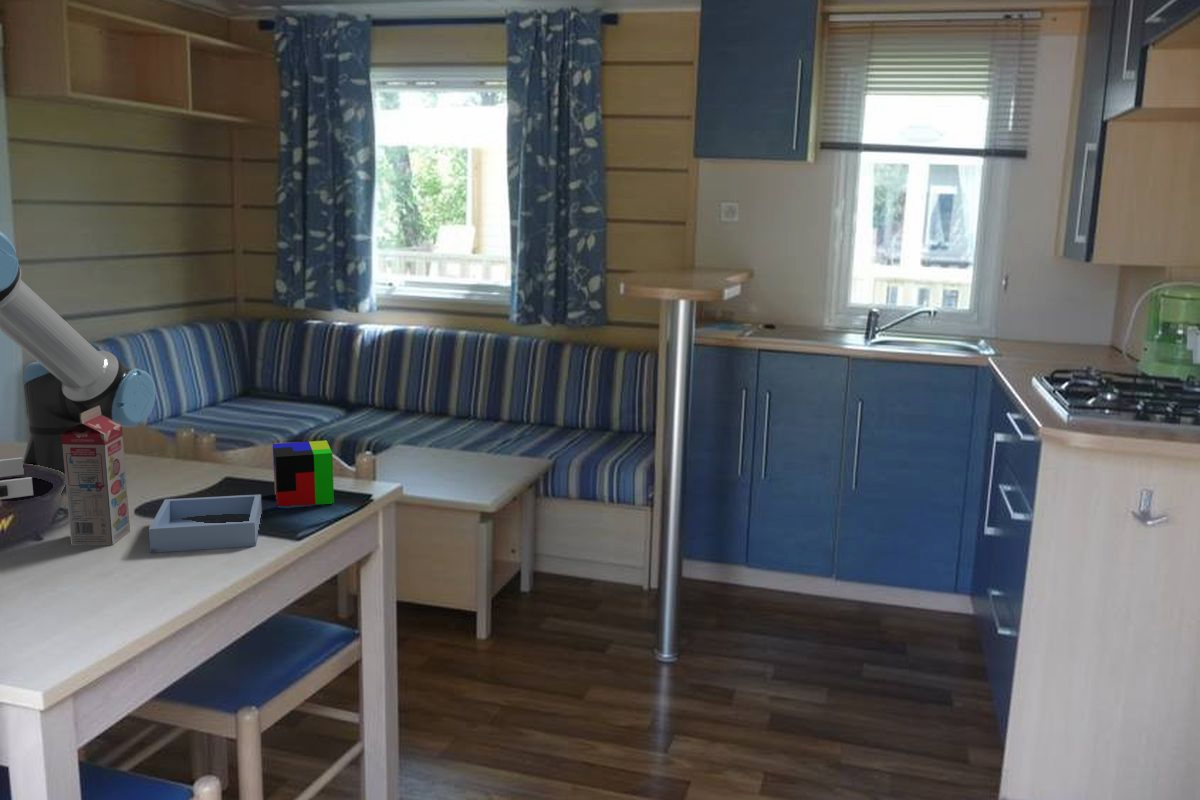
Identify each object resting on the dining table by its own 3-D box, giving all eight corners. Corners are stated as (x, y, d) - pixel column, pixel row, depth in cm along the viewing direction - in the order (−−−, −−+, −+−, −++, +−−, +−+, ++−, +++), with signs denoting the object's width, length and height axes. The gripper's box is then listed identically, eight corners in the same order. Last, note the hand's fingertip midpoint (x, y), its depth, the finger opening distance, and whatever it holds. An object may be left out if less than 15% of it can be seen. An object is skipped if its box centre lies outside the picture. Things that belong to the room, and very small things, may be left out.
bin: (166, 521, 175) (164, 499, 174) (262, 515, 179) (261, 494, 178) (150, 552, 159) (148, 529, 159) (255, 545, 163) (254, 522, 163)
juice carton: (71, 544, 162) (59, 413, 158) (90, 531, 169) (79, 404, 164) (112, 545, 162) (101, 413, 158) (130, 531, 169) (120, 405, 165)
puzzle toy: (274, 494, 192) (272, 443, 190) (328, 489, 195) (326, 440, 193) (278, 509, 183) (275, 456, 181) (334, 504, 186) (332, 453, 184)
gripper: (-134, 498, 156) (21, 479, 168) (-138, 544, 136) (38, 519, 148) (-140, 452, 155) (17, 436, 167) (-144, 492, 135) (34, 470, 147)
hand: (27, 475), depth 158 cm, fingers open, 13 cm apart
